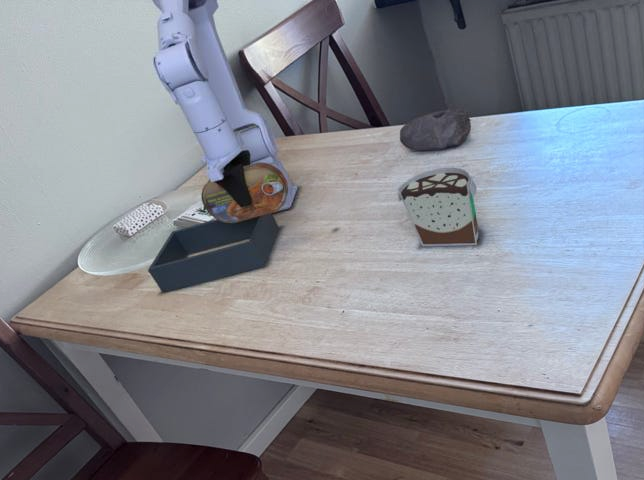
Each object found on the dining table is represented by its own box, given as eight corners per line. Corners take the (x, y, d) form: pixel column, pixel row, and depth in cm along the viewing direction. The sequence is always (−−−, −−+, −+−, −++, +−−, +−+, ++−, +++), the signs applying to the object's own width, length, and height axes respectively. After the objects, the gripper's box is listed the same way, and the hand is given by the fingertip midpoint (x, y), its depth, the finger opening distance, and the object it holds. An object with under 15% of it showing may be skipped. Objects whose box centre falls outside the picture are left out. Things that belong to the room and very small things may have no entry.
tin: (216, 228, 112) (190, 186, 106) (220, 218, 114) (195, 177, 108) (294, 207, 109) (273, 163, 103) (297, 197, 111) (276, 154, 105)
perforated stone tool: (399, 157, 129) (388, 124, 125) (409, 145, 133) (399, 113, 128) (467, 150, 122) (458, 115, 118) (476, 137, 125) (468, 103, 121)
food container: (499, 222, 98) (485, 162, 92) (486, 244, 94) (470, 183, 88) (429, 224, 104) (411, 168, 98) (413, 246, 100) (394, 189, 94)
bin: (185, 253, 125) (172, 231, 122) (279, 228, 121) (268, 204, 117) (162, 292, 114) (147, 270, 111) (264, 266, 110) (251, 242, 107)
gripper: (200, 115, 108) (237, 187, 116) (173, 149, 97) (216, 227, 105) (238, 103, 106) (273, 177, 114) (214, 137, 95) (255, 216, 103)
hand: (248, 200), depth 110 cm, fingers closed on tin, 2 cm apart
